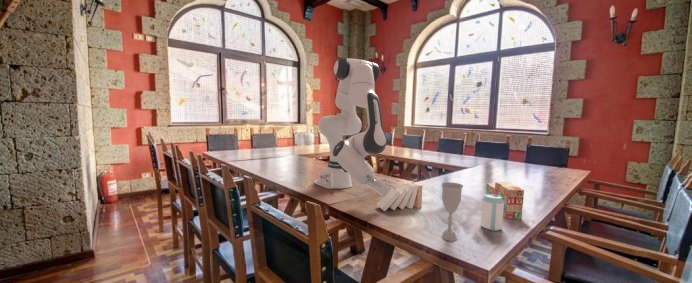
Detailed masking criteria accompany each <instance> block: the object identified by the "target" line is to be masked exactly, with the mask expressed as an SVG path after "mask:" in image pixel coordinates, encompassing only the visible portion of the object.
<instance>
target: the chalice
mask: <svg viewBox="0 0 692 283" xmlns="http://www.w3.org/2000/svg"><path fill="white" fill-rule="evenodd" d="M441 187H442V193H441V194H442V195H441V199H442V204H443V207H444V208H445V211H446V212H447V213H448V217H447V219H448V221H447V223H446V224H447V226H448V227H447V229H445V230H444V231H443V232H442V234H441V236H440V237H441V238H442V239H443V240H445V241H449V242H450V241H451V242H453V241H457V240H458V238H457V235H456V231H455V230H454V229H452V225H453V224H454V223H453V222H452V221H453V219H454V218H453V213H455V212H457V210H458V207H459V205H460V203H461V200H462V190H463V187H464V185H463V184H461V183H458V182H442V183H441Z"/></svg>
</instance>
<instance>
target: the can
mask: <svg viewBox="0 0 692 283" xmlns="http://www.w3.org/2000/svg"><path fill="white" fill-rule="evenodd" d="M503 210H504V201H503V199H502V196H500V195H496V194H486V193H485V194H484V196H483V198H482V200H481V217H480V226H481V227H482V228H484V229H485V230H488V231H492V232H494V231H495V232H497V231H500V230H502V229H503V223H504V221H503V220H504V217H503Z"/></svg>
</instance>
